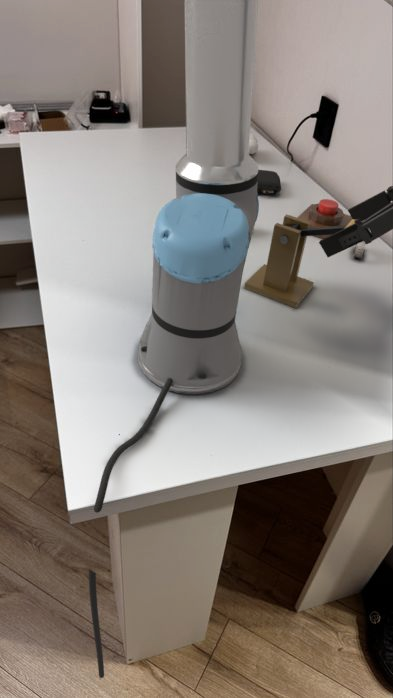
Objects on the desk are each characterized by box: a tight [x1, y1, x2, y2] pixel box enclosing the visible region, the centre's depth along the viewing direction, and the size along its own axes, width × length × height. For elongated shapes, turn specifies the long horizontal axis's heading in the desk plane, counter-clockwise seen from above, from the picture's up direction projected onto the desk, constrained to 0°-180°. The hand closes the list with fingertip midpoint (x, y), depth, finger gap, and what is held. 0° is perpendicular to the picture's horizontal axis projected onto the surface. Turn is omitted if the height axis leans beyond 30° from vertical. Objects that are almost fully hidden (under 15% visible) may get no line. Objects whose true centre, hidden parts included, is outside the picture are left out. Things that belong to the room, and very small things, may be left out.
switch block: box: [297, 203, 353, 240], centre depth 114 cm, size 10×10×4 cm
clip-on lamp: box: [249, 133, 259, 155], centre depth 144 cm, size 12×6×18 cm
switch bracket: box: [244, 214, 315, 309], centre depth 91 cm, size 10×8×13 cm
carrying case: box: [257, 169, 282, 196], centre depth 127 cm, size 11×3×15 cm
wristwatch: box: [352, 241, 366, 260], centre depth 106 cm, size 4×6×5 cm, turn 162°
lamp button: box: [318, 198, 339, 216], centre depth 112 cm, size 4×4×2 cm
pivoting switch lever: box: [285, 219, 355, 238], centre depth 86 cm, size 12×5×2 cm, turn 59°
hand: (338, 232), depth 84 cm, fingers open, 13 cm apart
